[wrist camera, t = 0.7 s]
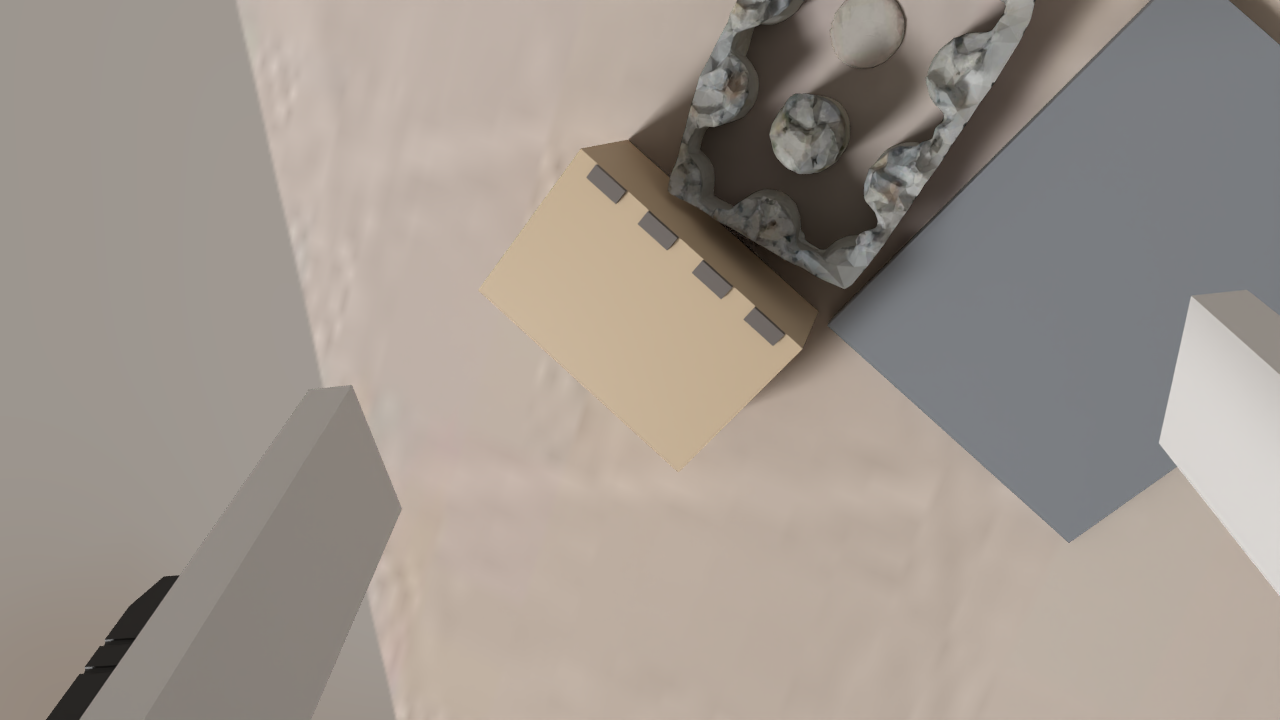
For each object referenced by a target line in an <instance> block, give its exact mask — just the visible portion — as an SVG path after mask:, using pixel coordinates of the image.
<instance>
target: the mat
mask: <svg viewBox="0 0 1280 720" xmlns="http://www.w3.org/2000/svg"><path fill="white" fill-rule="evenodd" d="M1240 290H1248V291H1249V292H1250V293H1252V294H1253V295H1254V296H1256V297H1257V298H1258V299H1259V300H1261V301H1262V302H1263V303H1264V304H1266V305H1267V306H1268V307H1269V308H1271V309H1272V310H1273V311H1274V312H1276V313H1277V314H1278V315H1280V45H1279V44H1278V43H1277V42H1276V41H1275V40H1274V39H1272V38H1271V37H1270V36H1269V35H1268V34H1267V33H1266V32H1264V31H1263V30H1262V29H1261V28H1260V27H1259V26H1258V25H1256V24H1255V23H1254V22H1253V21H1252V20H1251V19H1250V18H1248V17H1247V16H1246V15H1245V14H1244V13H1243V12H1242V11H1240V10H1239V9H1238V8H1237V7H1236V6H1235V5H1234V4H1232V3H1231V2H1230V1H1229V0H1151V1H1150V2H1149V3H1148V4H1147V5H1146V6H1145V7H1144V8H1143V9H1142V10H1141V11H1140V12H1139V13H1138V14H1137V15H1136V16H1135V17H1134V18H1132V19H1131V20H1130V21H1129V22H1128V23H1127V24H1126V25H1125V26H1124V27H1123V28H1122V29H1121V30H1120V31H1119V32H1118V33H1117V34H1116V35H1115V36H1114V37H1113V38H1112V39H1111V40H1110V41H1109V42H1108V43H1107V44H1106V45H1105V46H1104V47H1103V48H1102V49H1101V50H1100V51H1099V52H1098V53H1097V54H1096V55H1095V56H1094V57H1093V58H1092V59H1091V60H1090V61H1089V62H1088V63H1087V64H1086V65H1085V66H1084V67H1083V68H1082V69H1081V70H1080V71H1079V72H1078V73H1077V74H1076V75H1075V76H1074V77H1073V78H1072V79H1071V80H1070V81H1069V82H1068V83H1067V84H1066V85H1065V86H1064V87H1063V88H1062V89H1061V90H1060V91H1059V92H1058V93H1057V94H1056V95H1055V96H1054V97H1053V98H1052V99H1051V100H1050V101H1049V102H1048V103H1047V104H1046V105H1045V106H1044V107H1043V108H1042V109H1041V110H1040V111H1039V112H1038V113H1037V114H1036V115H1035V116H1034V117H1033V118H1032V119H1031V120H1030V121H1029V122H1028V123H1027V124H1026V125H1025V126H1024V127H1023V128H1022V129H1021V130H1020V131H1019V132H1018V133H1017V134H1016V135H1015V136H1014V137H1013V138H1012V139H1011V140H1010V141H1009V142H1008V143H1007V144H1006V145H1005V146H1004V147H1003V148H1002V149H1001V150H1000V151H999V152H998V153H997V154H996V155H995V156H994V157H993V158H992V159H991V160H990V161H989V162H988V163H987V164H986V165H985V166H984V167H983V168H982V169H981V170H980V171H979V172H978V173H977V174H976V175H975V176H974V177H973V178H972V179H971V180H970V181H969V182H968V183H967V184H966V185H965V186H964V187H963V188H962V189H961V190H960V191H959V192H958V193H957V194H956V195H955V196H954V197H953V198H952V199H951V200H950V201H949V202H948V203H947V204H946V205H945V206H944V207H943V208H942V209H941V210H940V211H939V212H938V213H937V214H936V215H935V216H934V217H933V218H932V219H931V220H930V221H929V222H928V223H927V224H926V225H925V226H924V227H923V228H922V229H921V230H920V231H919V232H918V233H917V234H916V235H915V236H914V237H913V238H912V239H911V240H910V241H909V242H908V243H907V244H906V245H905V246H904V247H903V248H902V249H901V250H900V251H899V252H898V253H897V254H896V255H895V256H894V257H893V258H892V259H891V260H890V261H889V262H888V263H887V264H886V265H885V266H884V267H883V268H882V269H881V270H880V271H879V272H878V273H877V274H876V275H875V276H874V277H873V278H872V279H871V280H870V281H869V282H868V283H867V284H866V285H865V286H864V287H863V288H862V289H861V290H860V291H859V292H858V293H857V294H856V295H855V296H854V297H853V298H852V299H851V300H850V301H849V302H848V303H847V304H846V305H845V306H844V307H843V308H842V309H841V310H840V311H839V312H838V313H837V314H836V315H835V316H834V317H833V318H832V319H831V320H830V321H829V323H828V325H827V326H828V327H830V328H831V329H832V330H833V331H834V332H835V333H836V334H837V335H838V336H840V337H841V338H842V339H843V340H844V341H845V342H846V343H847V344H848V345H850V346H851V347H852V348H853V349H854V350H855V351H856V352H857V353H858V354H860V355H861V356H862V357H863V358H864V359H865V360H866V361H867V362H868V363H870V364H871V365H872V366H873V367H874V368H875V369H876V370H877V371H878V372H880V373H881V374H882V375H883V376H884V377H885V378H886V379H887V380H888V381H890V382H891V383H892V384H893V385H894V386H895V387H896V388H897V389H898V390H900V391H901V392H902V393H903V394H904V395H905V396H906V397H907V398H908V399H910V400H911V401H912V402H913V403H914V404H915V405H916V406H917V407H918V408H920V409H921V410H922V411H923V412H924V413H925V414H926V415H927V416H928V417H930V418H931V419H932V420H933V421H934V422H935V423H936V424H937V425H938V426H940V427H941V428H942V429H943V430H944V431H945V432H946V433H947V434H948V435H950V436H951V437H952V438H953V439H954V440H955V441H956V442H957V443H958V444H960V445H961V446H962V447H963V448H964V449H965V450H966V451H967V452H968V453H970V454H971V455H972V456H973V457H974V458H975V459H976V460H977V461H978V462H980V463H981V464H982V465H983V466H984V467H985V468H986V469H987V470H988V471H990V472H991V473H992V474H993V475H994V476H995V477H996V478H997V479H998V480H1000V481H1001V482H1002V483H1003V484H1004V485H1005V486H1006V487H1007V488H1008V489H1010V490H1011V491H1012V492H1013V493H1014V494H1015V495H1016V496H1017V497H1018V498H1020V499H1021V500H1022V501H1023V502H1024V503H1025V504H1026V505H1027V506H1028V507H1030V508H1031V509H1032V510H1033V511H1034V512H1035V513H1036V514H1037V515H1038V516H1040V517H1041V518H1042V519H1043V520H1044V521H1045V522H1046V523H1047V524H1048V525H1050V526H1051V527H1052V528H1053V529H1054V530H1055V531H1056V532H1057V533H1058V534H1060V535H1061V536H1062V537H1063V538H1064V539H1065V540H1066V541H1067V542H1068V543H1070V542H1071V541H1072V540H1074V539H1075V538H1077V537H1078V536H1079V535H1081V534H1082V533H1084V532H1085V531H1087V530H1088V529H1089V528H1091V527H1092V526H1094V525H1095V524H1096V523H1098V522H1099V521H1101V520H1102V519H1104V518H1105V517H1106V516H1108V515H1109V514H1111V513H1112V512H1113V511H1115V510H1116V509H1118V508H1119V507H1120V506H1122V505H1123V504H1125V503H1126V502H1128V501H1129V500H1130V499H1132V498H1133V497H1135V496H1136V495H1137V494H1139V493H1140V492H1142V491H1143V490H1145V489H1146V488H1147V487H1149V486H1150V485H1152V484H1153V483H1154V482H1156V481H1157V480H1159V479H1160V478H1161V477H1163V476H1164V475H1166V474H1167V473H1169V472H1170V471H1171V470H1173V469H1174V468H1176V467H1177V466H1176V464H1175V463H1174V462H1173V460H1172V459H1171V458H1170V457H1169V455H1168V454H1167V453H1166V452H1165V450H1164V449H1163V448H1162V447H1161V445H1160V444H1159V440H1160V435H1161V431H1162V426H1163V422H1164V417H1165V413H1166V408H1167V403H1168V399H1169V394H1170V390H1171V385H1172V381H1173V376H1174V372H1175V367H1176V363H1177V358H1178V353H1179V349H1180V344H1181V340H1182V335H1183V331H1184V326H1185V322H1186V317H1187V312H1188V308H1189V303H1190V299H1191V296H1193V295H1202V294H1212V293H1221V292H1231V291H1240Z"/></svg>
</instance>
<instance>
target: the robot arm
mask: <svg viewBox="0 0 1280 720" xmlns="http://www.w3.org/2000/svg"><path fill="white" fill-rule="evenodd" d="M1159 444H1160V445H1161V447H1162V448H1163V449H1164V450H1165V452H1166V453H1167V454H1168V455H1169V457H1170V458H1171V459H1172V460H1173V462H1174V463H1175V464H1176V466H1177V467H1178V468H1179V469H1180V471H1181V472H1182V473H1183V474H1184V476H1185V477H1186V478H1187V479H1188V481H1189V482H1190V483H1191V485H1192V486H1193V487H1194V488H1195V490H1196V491H1197V492H1198V493H1199V495H1200V496H1201V497H1202V498H1203V500H1204V501H1205V502H1206V504H1207V505H1208V506H1209V507H1210V509H1211V510H1212V511H1213V512H1214V514H1215V515H1216V516H1217V517H1218V519H1219V520H1220V521H1221V523H1222V524H1223V525H1224V526H1225V528H1226V529H1227V530H1228V531H1229V533H1230V534H1231V535H1232V536H1233V538H1234V539H1235V540H1236V541H1237V543H1238V544H1239V545H1240V547H1241V548H1242V549H1243V550H1244V552H1245V553H1246V554H1247V555H1248V557H1249V558H1250V559H1251V560H1252V562H1253V563H1254V564H1255V566H1256V567H1257V568H1258V569H1259V571H1260V572H1261V573H1262V574H1263V576H1264V577H1265V578H1266V579H1267V581H1268V582H1269V583H1270V585H1271V586H1272V587H1273V588H1274V590H1275V591H1276V592H1277V593H1278V595H1279V596H1280V315H1278V314H1277V313H1276V312H1274V311H1273V310H1272V309H1271V308H1269V307H1268V306H1267V305H1266V304H1264V303H1263V302H1262V301H1261V300H1259V299H1258V298H1257V297H1256V296H1254V295H1253V294H1252V293H1250V292H1249V291H1248V290H1240V291H1231V292H1221V293H1212V294H1202V295H1193V296H1191V299H1190V303H1189V308H1188V312H1187V317H1186V322H1185V326H1184V331H1183V335H1182V340H1181V344H1180V349H1179V353H1178V358H1177V363H1176V367H1175V372H1174V376H1173V381H1172V385H1171V390H1170V394H1169V399H1168V403H1167V408H1166V413H1165V417H1164V422H1163V426H1162V431H1161V435H1160V440H1159ZM401 509H402V508H401V505H400V503H399V500H398V498H397V495H396V493H395V490H394V488H393V485H392V483H391V480H390V478H389V475H388V473H387V471H386V468H385V466H384V463H383V461H382V458H381V456H380V453H379V451H378V448H377V446H376V443H375V441H374V438H373V436H372V433H371V431H370V428H369V426H368V424H367V421H366V419H365V416H364V414H363V411H362V409H361V406H360V404H359V401H358V399H357V396H356V394H355V391H354V389H353V386H352V385H348V386H339V387H330V388H320V389H311V390H308V392H307V393H306V395H305V396H304V398H303V399H302V401H301V402H300V403H299V405H298V406H297V408H296V409H295V411H294V412H293V413H292V415H291V416H290V418H289V419H288V421H287V422H286V424H285V425H284V426H283V428H282V429H281V431H280V432H279V434H278V435H277V436H276V438H275V439H274V441H273V442H272V444H271V445H270V446H269V448H268V449H267V451H266V452H265V454H264V455H263V457H262V458H261V459H260V461H259V462H258V464H257V465H256V467H255V468H254V469H253V471H252V472H251V474H250V475H249V477H248V478H247V480H246V481H245V482H244V484H243V485H242V487H241V488H240V490H239V491H238V492H237V494H236V495H235V497H234V498H233V500H232V501H231V503H230V504H229V505H228V507H227V508H226V510H225V511H224V513H223V514H222V516H221V517H220V518H219V520H218V521H217V523H216V524H215V525H214V527H213V528H212V530H211V531H210V533H209V534H208V536H207V537H206V538H205V540H204V541H203V543H202V544H201V546H200V547H199V548H198V550H197V551H196V553H195V554H194V556H193V557H192V559H191V560H190V561H189V563H188V564H187V566H186V567H185V569H184V570H183V571H182V573H181V574H180V575H179V576H166V577H163V578H162V579H161V580H159V581H158V582H157V583H156V584H155V585H154V586H152V587H151V588H150V589H149V590H148V591H147V592H146V593H144V594H143V595H142V596H141V597H140V598H138V599H137V600H136V601H135V602H134V603H133V604H131V605H130V606H129V608H128V609H127V610H126V611H125V613H124V614H123V616H122V617H121V618H120V620H119V621H118V622H117V624H116V625H115V627H114V628H113V629H112V631H111V632H110V633H109V635H108V636H107V637H106V639H105V645H104V646H100V647H99V648H98V650H97V651H96V652H95V654H94V655H93V657H92V658H91V659H90V661H89V662H88V663H87V665H86V666H85V673H84V674H79V676H78V677H77V678H76V680H75V681H74V682H73V684H72V685H71V686H70V688H69V689H68V691H67V692H66V693H65V695H64V696H63V697H62V699H61V700H60V701H59V703H58V704H57V706H56V707H55V708H54V710H53V711H52V713H51V714H50V715H49V716H48V718H47V719H46V720H311V718H312V716H313V714H314V711H315V709H316V707H317V705H318V702H319V700H320V697H321V695H322V693H323V691H324V688H325V686H326V684H327V681H328V679H329V677H330V674H331V672H332V669H333V667H334V665H335V663H336V660H337V658H338V656H339V653H340V651H341V649H342V646H343V644H344V642H345V639H346V637H347V635H348V632H349V630H350V628H351V625H352V623H353V621H354V619H355V616H356V614H357V612H358V609H359V607H360V605H361V602H362V600H363V598H364V595H365V593H366V591H367V588H368V586H369V584H370V581H371V579H372V577H373V575H374V572H375V570H376V568H377V565H378V563H379V561H380V558H381V556H382V554H383V551H384V549H385V547H386V544H387V542H388V540H389V537H390V535H391V533H392V530H393V528H394V526H395V523H396V521H397V519H398V516H399V514H400V512H401Z"/></svg>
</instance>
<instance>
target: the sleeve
mask: <svg viewBox="0 0 1280 720" xmlns="http://www.w3.org/2000/svg"><path fill="white" fill-rule="evenodd" d="M669 180H670V178H669V177H668V176H667V175H666V174H665V173H664V172H663V171H662V170H661V169H659V168H658V167H657V166H656V165H655V164H654V163H653V162H652V161H651V160H649V159H648V158H647V157H646V156H645V155H644V154H643V153H642V152H641V151H639V150H638V149H637V148H636V147H635V146H634V145H633V144H632V143H631V142H629V141H628V140H624V141H619V142H614V143H608V144H603V145H598V146H592V147H587V148H582V149H580V151H579V152H578V153H577V155H576V156H575V157H574V159H573V160H572V162H571V163H570V164H569V166H568V167H567V168H566V170H565V171H564V173H563V174H562V175H561V177H560V178H559V179H558V181H557V182H556V184H555V185H554V186H553V188H552V189H551V190H550V192H549V193H548V195H547V196H546V197H545V199H544V200H543V201H542V203H541V204H540V206H539V207H538V208H537V210H536V211H535V213H534V214H533V215H532V217H531V218H530V219H529V221H528V222H527V224H526V225H525V226H524V228H523V229H522V230H521V232H520V233H519V235H518V236H517V237H516V239H515V240H514V241H513V243H512V244H511V246H510V247H509V248H508V250H507V251H506V252H505V254H504V255H503V257H502V258H501V259H500V261H499V262H498V263H497V265H496V266H495V268H494V269H493V270H492V272H491V273H490V274H489V276H488V277H487V279H486V280H485V281H484V283H483V284H482V286H481V287H480V288H479V290H478V291H479V292H481V293H482V294H483V295H484V296H485V297H486V298H487V299H488V300H489V301H490V302H492V303H493V304H494V305H495V306H496V307H497V308H498V309H499V310H500V311H501V312H503V313H504V314H505V315H506V316H507V317H508V318H509V319H510V320H511V321H512V322H514V323H515V324H516V325H517V326H518V327H519V328H520V329H521V330H522V331H523V332H525V333H526V334H527V335H528V336H529V337H530V338H531V339H532V340H533V341H534V342H535V343H537V344H538V345H539V346H540V347H541V348H542V349H543V350H544V351H545V352H546V353H548V354H549V355H550V356H551V357H552V358H553V359H554V360H555V361H556V362H557V363H559V364H560V365H561V366H562V367H563V368H564V369H565V370H566V371H567V372H568V373H570V374H571V375H572V376H573V377H574V378H575V379H576V380H577V381H578V382H579V383H581V384H582V385H583V386H584V387H585V388H586V389H587V390H588V391H589V392H590V393H592V394H593V395H594V396H595V397H596V398H597V399H598V400H599V401H600V402H601V403H603V404H604V405H605V406H606V407H607V408H608V409H609V410H610V411H611V412H612V413H614V414H615V415H616V416H617V417H618V418H619V419H620V420H621V421H622V422H623V423H624V424H626V425H627V426H628V427H629V428H630V429H631V430H632V431H633V432H634V433H635V434H637V435H638V436H639V437H640V438H641V439H642V440H643V441H644V442H645V443H646V444H648V445H649V446H650V447H651V448H652V449H653V450H654V451H655V452H656V453H657V454H659V455H660V456H661V457H662V458H663V459H664V460H665V461H666V462H667V463H668V464H670V465H671V466H672V467H673V468H674V469H675V470H676V471H677V472H679V471H680V470H681V469H682V468H683V467H684V466H685V465H686V464H687V463H688V462H689V461H690V460H691V459H692V458H693V457H694V456H695V455H696V454H697V453H698V452H699V451H700V450H702V449H703V448H704V447H705V446H706V445H707V444H708V443H709V442H710V441H711V440H712V439H713V438H714V437H715V436H716V435H717V434H718V433H719V432H720V431H721V430H722V429H723V428H724V427H725V426H726V425H727V424H728V423H729V422H730V421H731V420H732V419H733V418H734V417H735V416H736V415H737V414H738V413H739V412H740V411H741V410H742V409H743V408H744V407H745V406H746V405H747V404H748V403H749V402H750V401H751V400H752V399H753V398H754V397H755V396H756V395H757V394H758V393H759V392H760V391H761V390H762V389H763V388H764V387H765V386H766V385H767V384H768V383H769V382H770V381H771V380H772V379H773V378H774V377H775V376H776V375H777V374H778V373H779V372H780V371H781V370H782V369H783V368H784V367H785V366H786V365H787V364H788V363H789V362H790V361H791V360H792V359H793V358H794V357H795V356H796V355H797V354H798V353H799V352H800V351H801V350H802V349H803V347H804V344H805V342H806V340H807V337H808V335H809V333H810V330H811V328H812V325H813V323H814V321H815V318H816V316H817V314H818V311H817V310H816V309H815V308H814V307H813V306H812V305H811V304H809V303H808V302H807V301H806V300H805V299H804V298H803V297H802V296H801V295H799V294H798V293H797V292H796V291H795V290H794V289H793V288H792V287H791V286H789V285H788V284H787V283H786V282H785V281H784V280H783V279H782V278H781V277H779V276H778V275H777V274H776V273H775V272H774V271H773V270H772V269H771V268H769V267H768V266H767V265H766V264H765V263H764V262H763V261H762V260H761V259H759V258H758V257H757V256H756V255H755V254H754V253H753V252H752V251H751V250H749V249H748V248H747V247H746V246H745V245H744V244H743V243H742V242H741V241H739V240H738V239H737V238H736V237H735V236H734V235H733V234H732V233H731V232H729V231H728V230H727V229H726V228H725V227H724V226H723V225H722V224H721V223H719V222H718V221H717V220H715V219H714V218H712V217H711V216H710V215H709V214H707V213H705V212H704V211H702V210H700V209H699V208H697V207H695V206H693V205H692V204H690V203H688V202H686V201H684V200H681V199H679V198H677V197H676V196H674V195H672V194H670V193H669V192H668V184H669Z"/></svg>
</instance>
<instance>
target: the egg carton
mask: <svg viewBox="0 0 1280 720" xmlns="http://www.w3.org/2000/svg"><path fill="white" fill-rule="evenodd" d="M803 1H804V0H737V2H736V4H735V6H734V8H733V10H732V11H731V13H730V17H729V20H728V23H727V25H726V27H725V28H724V30H723V32H722V34H721V36H720V38H719V40H718V41H717V43H716V45H715V48H714V50H713V52H712V54H711V56H710V58H709V60H708V62H707V63H706V65H705V67H704V69H703V71H702V73H701V75H700V77H699V81H698V84H697V88H696V91H695V95H694V98H693V101H692V104H691V108H690V111H689V115H688V119H687V124H686V128H685V131H684V134H683V138H682V142H681V146H680V150H679V155H678V158H677V161H676V164H675V166H674V168H673V170H672V173H671V176H670V180H669V184H668V192H669V193H670V194H672V195H674V196H676V197H677V198H679V199H681V200H684V201H686V202H688V203H690V204H692V205H693V206H695V207H697V208H699V209H700V210H702V211H704V212H705V213H707V214H709V215H710V216H711V217H712V218H714V219H715V220H717V221H719V222H721V223H723V224H725V225H727V226H728V227H730V228H732V229H734V230H735V231H737V232H739V233H740V234H742V235H744V236H745V237H747V238H749V239H750V240H752V241H754V242H756V243H757V244H759V245H761V246H763V247H765V248H766V249H768V250H770V251H771V252H773V253H775V254H776V255H778V256H780V257H781V258H783V259H784V260H787V261H788V262H790V263H792V264H795V265H798V266H800V267H802V268H803V269H805V270H807V271H808V272H810V273H812V274H813V275H815V276H817V277H819V278H820V279H822V280H825V281H827V282H829V283H832V284H834V285H836V286H839V287H841V288H843V289H846V288H847V287H849V286H851V285H852V284H853V283H854V281H855V280H856V279H857V278H858V277H859V275H860V274H861V273H862V272H863V271H864V270H865V268H866V267H867V266H868V265H869V263H870V262H871V261H872V260H873V258H874V257H875V256H876V254H877V253H878V252H879V250H880V249H881V248H882V246H883V245H884V244H885V242H886V241H887V239H888V238H889V236H890V235H891V233H892V232H893V230H894V229H895V227H896V226H897V224H898V223H899V222H900V220H901V219H902V217H903V216H904V214H905V213H906V212H907V210H908V209H909V207H910V206H911V204H912V203H913V201H914V200H915V198H916V197H917V196H918V194H919V193H920V191H921V189H922V188H923V186H924V185H925V183H926V182H927V181H928V179H929V178H930V177H931V175H932V174H933V173H934V171H935V170H936V169H937V167H938V166H939V164H940V163H941V161H942V160H943V158H944V157H945V155H946V153H947V152H948V150H949V148H950V147H951V145H952V144H953V142H954V141H955V139H956V138H957V136H958V135H959V134H960V132H961V131H962V129H963V128H964V126H965V125H966V123H967V122H968V120H969V119H970V117H971V116H972V114H973V113H974V111H975V110H976V108H977V106H978V105H979V103H980V102H981V101H982V99H983V98H984V97H985V95H986V94H987V93H988V91H989V90H990V89H991V87H992V86H993V84H994V82H995V81H996V79H997V78H998V76H999V74H1000V73H1001V71H1002V69H1003V68H1004V66H1005V65H1006V63H1007V61H1008V60H1009V58H1010V56H1011V55H1012V53H1013V52H1014V50H1015V48H1016V47H1017V45H1018V43H1019V42H1020V40H1021V38H1022V36H1023V34H1024V32H1025V30H1026V28H1027V26H1028V24H1029V22H1030V20H1031V16H1032V12H1033V7H1034V3H1035V0H1001V1H1002V2H1004V3H1005V5H1006V8H1005V11H1004V14H1003V15H1002V17H1001V18H1000V20H999V21H998V23H997V24H996V26H995V27H994V29H993V30H991V31H990V32H976V33H968V34H965V35H962V36H960V37H957V38H954V39H952V40H951V41H950V42H949V43H947V44H946V45H945V46H944V47H942V48H941V49H940V50H939V51H938V53H937V54H936V55H935V57H934V59H933V61H932V63H931V65H930V68H929V71H928V76H927V77H926V84H927V87H928V92H929V95H930V98H931V99H932V101H933V102H934V104H935V105H936V106H937V107H938V108H939V109H940V110H941V111H942V113H943V114H944V119H943V121H942V123H941V124H939V125H938V126H937V127H936V128H935V131H934V135H933V138H932V139H931V140H927V141H923V142H922V143H917V142H907V143H901V144H898V145H895V146H893V147H891V148H889V149H888V150H886V151H885V152H884V153H883V154H882V155H881V157H880V158H879V159H878V160H877V162H876V163H875V164H874V165H873V166H872V167H871V168H870V169H869V171H868V174H867V177H866V180H865V183H864V199H865V201H866V202H867V204H868V205H869V206H870V207H871V208H872V209H873V211H874V212H875V214H876V217H877V220H878V223H877V226H876V228H874V229H871V230H867V231H864V232H862V233H860V234H859V235H852V236H846V237H843V238H841V239H839V240H838V241H836V242H834V243H833V244H832V245H830V246H829V247H828V248H827V249H826V250H822V249H818V248H817V247H815V246H813V245H812V244H810V243H809V242H807V241H806V240H805V235H804V233H803V232H802V231H801V229H800V228H801V219H800V214H799V211H798V209H797V206H796V204H795V202H794V201H793V200H792V199H791V198H790V197H789V196H788V195H786V194H785V193H783V192H781V191H778V190H772V189H767V190H760V191H757V192H755V193H753V194H751V195H750V196H748V197H747V198H745V199H744V200H742V201H740V202H739V203H738V204H737V205H735V206H732V205H730V204H729V203H727V202H725V201H723V200H721V199H719V198H717V197H716V196H714V183H715V174H714V168H713V165H712V163H711V162H710V160H709V158H708V157H707V156H706V155H705V154H704V153H703V152H702V151H701V150H700V147H701V142H702V139H703V136H704V134H705V131H706V130H707V128H708V127H715V126H719V125H722V124H725V123H729V122H733V121H736V120H738V119H740V118H743V117H744V116H745V115H746V114H747V113H748V112H749V111H750V109H751V108H752V107H753V106H754V104H755V102H756V99H757V96H758V89H759V79H758V74H757V73H756V71H755V69H754V67H753V65H752V63H751V62H750V61H749V60H748V58H747V57H746V54H747V51H748V49H749V46H750V41H751V37H752V33H753V30H754V27H755V26H758V25H760V24H763V25H773V24H777V23H779V22H782V21H784V20H786V19H787V18H789V17H790V16H792V15H793V14H794V13H795V12H797V10H798V9H799V7H800V6H801V4H802V3H803ZM831 26H832V28H831V29H830V37H831V44H832V47H833V49H834V52H835V54H836V55H837V56H838V58H839V59H840V60H841V61H842V62H844V63H845V64H846V65H847V66H851V67H855V68H858V69H861V68H873V67H875V66H877V65H879V64H881V63H883V62H885V61H886V60H887V59H888V58H889V57H891V56H892V55H893V54H894V53H895V51H896V50H897V49H898V47H899V46H900V44H901V41H902V39H903V36H904V29H905V24H904V18H903V14H902V12H901V9H900V6H899V5H898V3H897V2H896V1H895V0H846V1H845V2H844V3H843V4H842V5H841V7H840V8H839V9H838V11H837V12H836V13H835V16H834V20H833V22H832V23H831ZM850 131H851V128H850V122H849V118H848V115H847V113H846V110H845V109H844V108H843V107H842V105H841V104H840V103H839V102H838V101H836V100H834V99H831V98H829V97H826V96H820V95H812V94H806V93H804V94H794V95H793V96H791V97H790V98H789V99H788V100H787V102H786V103H785V106H784V107H783V108H782V109H781V110H780V111H779V113H778V115H777V116H776V118H775V120H774V122H773V123H772V126H771V130H770V134H769V135H770V139H771V144H772V148H773V151H774V153H775V155H776V157H777V159H778V160H779V161H780V162H781V163H782V164H783V165H784V166H785V167H786V168H788V169H790V170H792V171H794V172H796V173H798V174H812V173H813V172H814V173H820V172H821V171H823V170H825V169H826V168H828V167H830V166H831V165H833V164H834V163H835V162H837V161H838V159H839V158H840V156H841V155H842V154H843V152H844V151H845V149H846V147H847V145H848V143H849V138H850Z"/></svg>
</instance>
